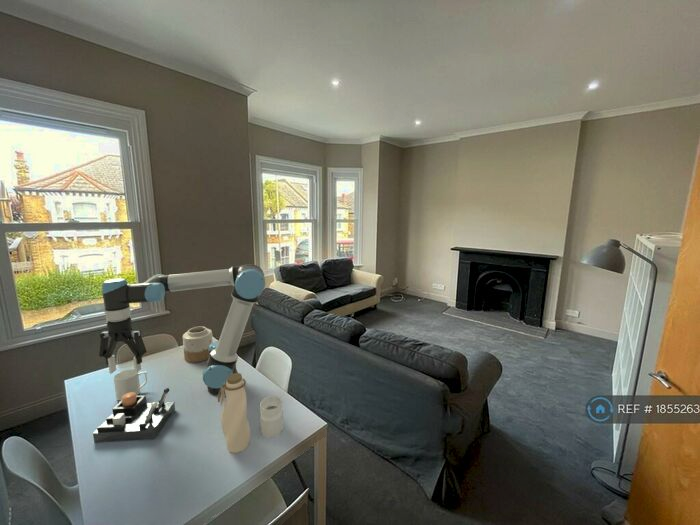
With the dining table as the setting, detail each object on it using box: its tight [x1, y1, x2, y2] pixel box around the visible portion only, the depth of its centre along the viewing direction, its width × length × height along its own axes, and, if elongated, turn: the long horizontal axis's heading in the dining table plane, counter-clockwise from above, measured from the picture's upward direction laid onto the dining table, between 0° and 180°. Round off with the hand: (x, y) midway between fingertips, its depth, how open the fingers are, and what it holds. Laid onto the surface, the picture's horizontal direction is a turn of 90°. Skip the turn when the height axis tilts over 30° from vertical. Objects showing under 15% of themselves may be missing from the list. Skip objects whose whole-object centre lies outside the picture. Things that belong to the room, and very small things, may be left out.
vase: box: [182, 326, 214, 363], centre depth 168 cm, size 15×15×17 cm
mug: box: [113, 368, 148, 402], centre depth 133 cm, size 12×9×11 cm
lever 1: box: [144, 401, 158, 424], centre depth 110 cm, size 2×3×8 cm
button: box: [122, 392, 138, 407], centre depth 117 cm, size 5×5×4 cm
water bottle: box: [217, 372, 251, 454], centre depth 104 cm, size 10×9×28 cm
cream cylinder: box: [259, 395, 284, 438], centre depth 114 cm, size 9×9×12 cm
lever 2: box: [157, 387, 170, 408], centre depth 119 cm, size 2×3×8 cm
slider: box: [113, 413, 125, 425], centre depth 109 cm, size 2×3×4 cm
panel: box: [92, 394, 176, 444], centre depth 115 cm, size 21×16×8 cm
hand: (125, 371), depth 115 cm, fingers open, 9 cm apart
